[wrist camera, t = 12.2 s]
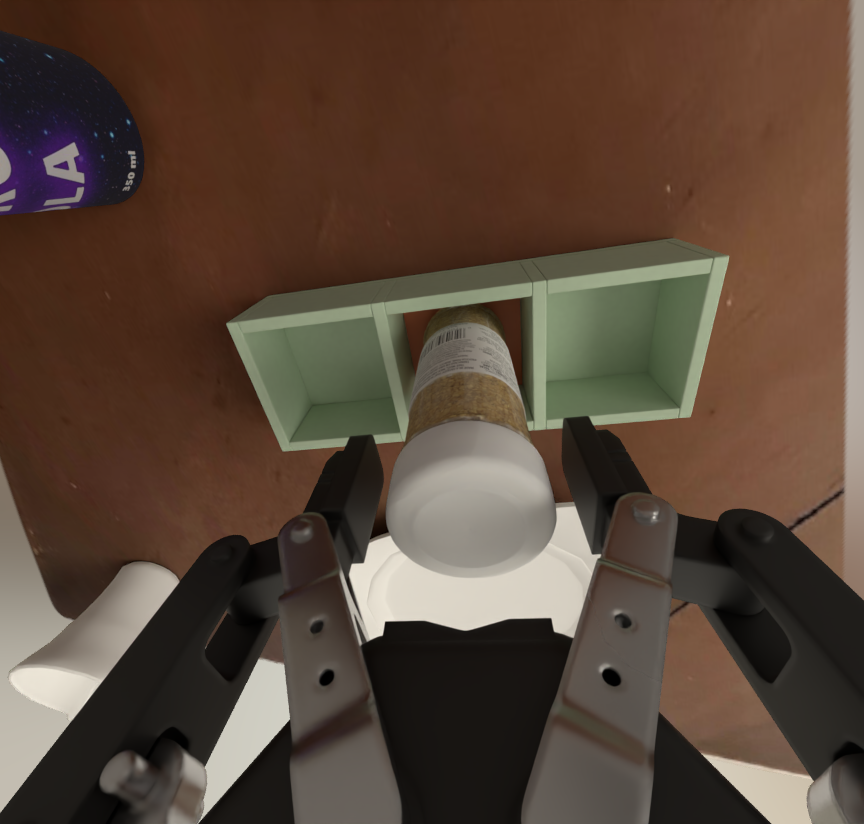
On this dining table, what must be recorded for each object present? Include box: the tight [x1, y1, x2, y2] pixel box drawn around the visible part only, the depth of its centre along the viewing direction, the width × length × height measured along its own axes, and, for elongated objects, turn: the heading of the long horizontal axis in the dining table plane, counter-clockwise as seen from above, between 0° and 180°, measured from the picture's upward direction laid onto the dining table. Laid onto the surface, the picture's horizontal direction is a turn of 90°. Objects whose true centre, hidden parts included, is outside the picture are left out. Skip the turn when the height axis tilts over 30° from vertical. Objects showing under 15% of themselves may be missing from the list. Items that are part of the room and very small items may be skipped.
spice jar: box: [386, 303, 557, 578], centre depth 16 cm, size 5×5×14 cm
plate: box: [349, 502, 601, 640], centre depth 34 cm, size 24×24×3 cm
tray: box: [226, 238, 729, 451], centre depth 20 cm, size 21×8×5 cm, turn 99°
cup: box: [8, 561, 180, 720], centre depth 33 cm, size 9×9×10 cm
